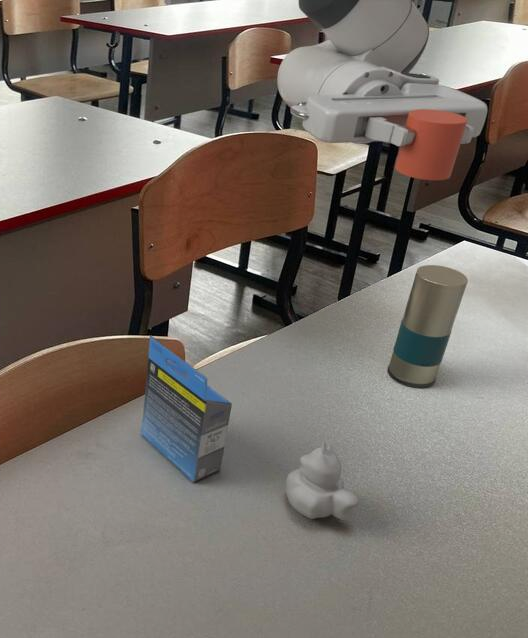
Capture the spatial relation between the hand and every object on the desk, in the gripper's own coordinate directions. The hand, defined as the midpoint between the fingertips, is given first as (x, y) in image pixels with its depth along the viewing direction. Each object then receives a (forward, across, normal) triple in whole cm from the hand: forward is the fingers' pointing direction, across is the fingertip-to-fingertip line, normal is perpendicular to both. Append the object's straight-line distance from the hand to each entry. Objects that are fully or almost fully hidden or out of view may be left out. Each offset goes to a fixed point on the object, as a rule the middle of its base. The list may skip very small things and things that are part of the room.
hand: (438, 137), depth 79 cm
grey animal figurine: (+22, -20, +28) cm, 41 cm away
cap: (-1, 0, +4) cm, 4 cm away
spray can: (+3, +3, +28) cm, 29 cm away
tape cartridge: (+11, -30, +29) cm, 43 cm away
